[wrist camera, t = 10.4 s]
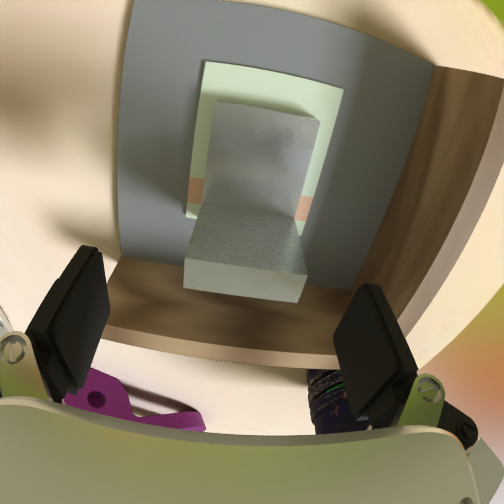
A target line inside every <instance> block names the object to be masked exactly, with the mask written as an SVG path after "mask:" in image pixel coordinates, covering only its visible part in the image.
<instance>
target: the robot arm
mask: <svg viewBox="0 0 504 504" xmlns="http://www.w3.org/2000/svg"><path fill="white" fill-rule="evenodd" d="M109 315H110V301H109V296H108V290H107V284H106V277H105V271H104V263H103V256H102V253H101V252H98V249H97V248H96V247H91V246H85V245H82V246H81V247H80V248H79V249H78V251H77V252H76V254H75V255H74V256H73V258H72V259H71V261H70V262H69V264H68V265H67V267H66V268H65V270H64V271H63V273H62V274H61V276H60V278H58V279H57V280H56V281H55V282H54V284H53V285H52V287H51V288H50V290H49V292H48V293H47V295H46V297H45V298H44V300H43V302H42V303H41V305H40V307H39V308H38V310H37V312H36V314H35V315H34V317H33V319H32V321H31V322H30V324H29V326H28V328H27V330H26V332H25V333H22V332H19V331H12V329H11V326H10V323H9V321H8V319H7V317H6V316H5V314H4V312H3V311H2V309H1V308H0V504H489V502H490V501H491V499H492V497H493V496H494V494H495V492H496V490H497V489H498V487H499V485H500V483H501V482H502V480H503V476H504V467H503V465H502V463H501V461H500V460H499V459H498V458H497V457H496V455H495V454H494V453H493V452H492V450H491V449H490V448H489V447H488V446H487V444H486V443H485V442H484V441H483V440H482V438H479V439H477V438H478V429H477V426H476V424H475V423H474V421H473V420H472V419H471V418H470V417H468V416H467V415H465V414H464V413H462V412H461V411H460V410H458V409H457V408H455V407H454V406H452V405H451V404H449V403H448V402H446V401H445V390H444V388H443V385H442V383H441V382H440V381H439V380H438V379H437V378H436V377H434V376H433V375H430V374H425V373H424V374H420V375H419V376H418V375H417V371H418V367H417V365H416V362H415V360H414V358H413V355H412V353H411V351H410V348H409V346H408V344H407V341H406V339H405V337H404V335H403V333H402V330H401V328H400V326H399V324H398V322H397V320H396V317H395V315H394V313H393V311H392V309H391V307H390V305H389V303H388V301H387V299H386V297H385V295H384V293H383V291H382V289H381V287H380V285H378V284H372V283H364V284H363V285H362V286H359V287H358V289H357V290H356V292H355V294H354V296H353V298H352V300H351V302H350V304H349V306H348V308H347V310H346V312H345V313H344V315H343V317H342V319H341V321H340V323H339V325H338V326H337V328H336V330H335V332H334V334H333V343H334V347H335V350H336V354H337V358H338V362H339V366H340V370H341V374H342V378H343V382H344V386H345V390H346V395H347V399H348V403H349V407H350V411H351V413H352V414H354V415H355V420H356V421H360V420H368V419H369V423H370V425H369V427H368V429H367V430H365V431H355V432H345V433H333V434H319V435H294V436H259V435H235V434H220V433H208V432H198V431H190V430H182V429H174V428H167V427H161V426H155V425H149V424H144V423H138V422H133V421H129V420H124V419H119V418H115V417H111V416H106V415H102V414H98V413H94V412H90V411H86V410H82V409H79V408H75V407H72V406H68V405H66V404H65V402H64V400H63V399H64V398H65V396H66V393H70V394H73V395H76V396H77V393H78V390H79V389H82V388H83V387H84V384H85V381H86V378H87V375H88V372H89V369H90V366H91V363H92V360H93V358H94V355H95V352H96V349H97V346H98V344H99V341H100V338H101V336H102V333H103V330H104V328H105V325H106V323H107V320H108V318H109Z"/></svg>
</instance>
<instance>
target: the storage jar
mask: <svg viewBox="0 0 504 504" xmlns="http://www.w3.org/2000/svg"><path fill="white" fill-rule="evenodd" d="M306 376H307V382H308V384H309V386H308V392H309V393H308V402H309V408H310V415H311V420H312V423H313V424H314V425H315V432H316V435H319V434H333V433H345V432H355V431H365V430H367V429H368V427H369V425H370V423H369V419H368V420H360V421H356V420H355V415H354V414H352V413H351V411H350V407H349V403H348V399H347V395H346V390H345V386H344V382H343V378H342V374H341V370H336V369H308V370H307V375H306Z"/></svg>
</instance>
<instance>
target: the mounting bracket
mask: <svg viewBox="0 0 504 504" xmlns="http://www.w3.org/2000/svg"><path fill="white" fill-rule="evenodd" d="M64 402H65V404H66V405H68V406H72V407H75V408H79V409H82V410H86V411H90V412H94V413H98V414H102V415H106V416H111V417H115V418H119V419H124V420H129V421H133V422H138V423H144V424H149V425H155V426H161V427H167V428H174V429H182V430H190V431H198V432H203V431H205V430H206V426H205V424H204V421H203V419H202V416H201V414H200V413H199V412H179V413H171V414H163V415H155V416H145V417H137V416H135V415H134V414H133V413H132V409H131V405H130V401H129V398H128V394H127V392H126V390H125V388H124V387H123V385H122V384H121V383H120V382H119V381H118V380H117V379H116V378H115V377H113V376H110V375H108V374H105V373H103V372H101V371H98V370H96V369H89V372H88V375H87V378H86V381H85V384H84V387H83V388H82V389H79V390H78V393H77V396H76V395H73V394H70V393H66V396H65V398H64Z"/></svg>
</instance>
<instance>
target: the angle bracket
mask: <svg viewBox="0 0 504 504" xmlns="http://www.w3.org/2000/svg"><path fill="white" fill-rule="evenodd" d="M319 126H320V121H319V120H318V119H317V118H316V117H312V116H308V115H303V114H299V113H294V112H290V111H285V110H280V109H275V108H270V107H264V106H258V105H253V104H246V103H240V102H233V101H226V100H217V101H216V102H215V106H214V113H213V120H212V127H211V134H210V141H209V148H208V156H207V164H206V172H205V180H204V189H203V198H202V205H201V208H200V211H199V214H198V217H197V220H196V223H195V226H194V229H193V233H192V236H191V239H190V242H189V246H188V249H187V252H186V255H185V262H184V284H183V288H188V289H194V290H201V291H208V292H215V293H222V294H229V295H237V296H244V297H252V298H260V299H268V300H276V301H285V302H293V303H298V300H299V298H300V295H301V292H302V290H303V287H304V285H305V282H306V279H307V277H308V274H307V269H306V265H305V260H304V256H303V251H302V247H301V243H300V238H299V234H298V230H297V226H296V222H295V215H296V212H297V208H298V204H299V201H300V197H301V194H302V190H303V186H304V183H305V179H306V175H307V171H308V168H309V164H310V160H311V156H312V153H313V149H314V145H315V141H316V137H317V133H318V129H319Z"/></svg>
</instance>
